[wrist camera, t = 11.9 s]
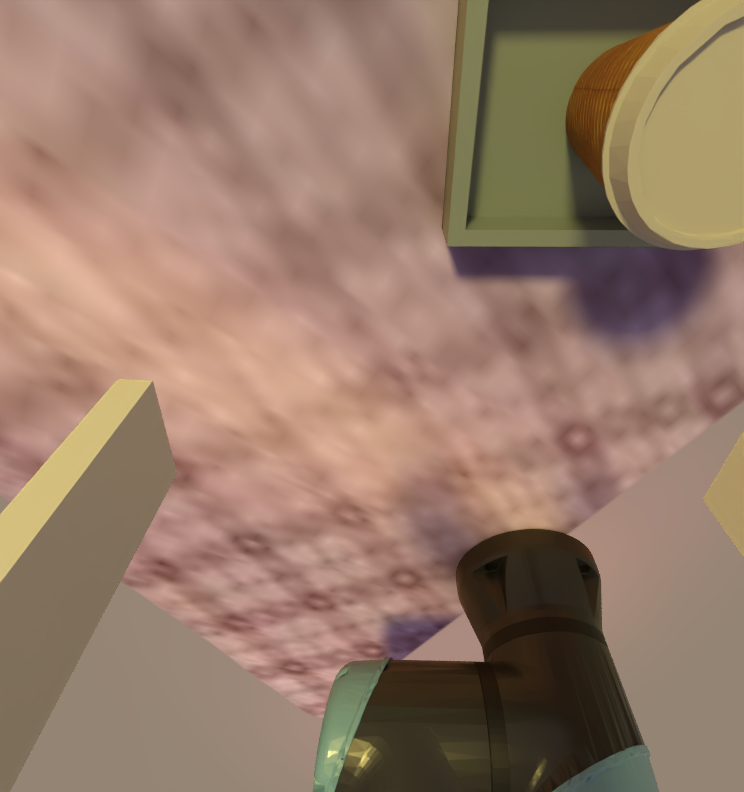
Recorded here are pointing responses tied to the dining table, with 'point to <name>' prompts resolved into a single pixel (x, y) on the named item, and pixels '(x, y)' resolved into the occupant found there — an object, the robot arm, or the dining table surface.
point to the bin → (532, 121)
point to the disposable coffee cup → (669, 128)
